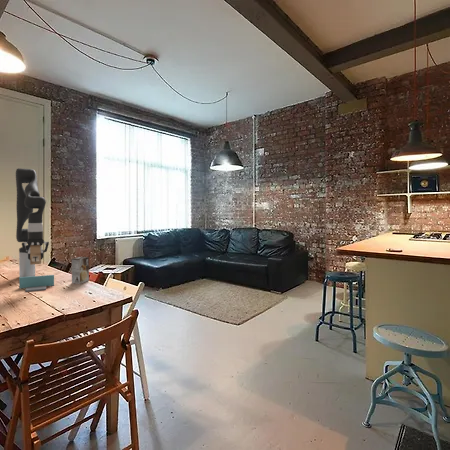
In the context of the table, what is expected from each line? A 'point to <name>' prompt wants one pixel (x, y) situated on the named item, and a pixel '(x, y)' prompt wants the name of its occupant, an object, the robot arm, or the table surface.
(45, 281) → the teal board
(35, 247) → the wooden block
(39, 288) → the dark gray upright panel
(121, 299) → the table surface
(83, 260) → the coffee box
